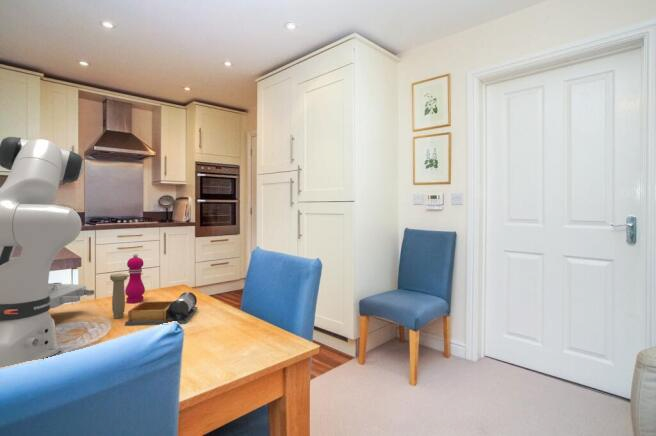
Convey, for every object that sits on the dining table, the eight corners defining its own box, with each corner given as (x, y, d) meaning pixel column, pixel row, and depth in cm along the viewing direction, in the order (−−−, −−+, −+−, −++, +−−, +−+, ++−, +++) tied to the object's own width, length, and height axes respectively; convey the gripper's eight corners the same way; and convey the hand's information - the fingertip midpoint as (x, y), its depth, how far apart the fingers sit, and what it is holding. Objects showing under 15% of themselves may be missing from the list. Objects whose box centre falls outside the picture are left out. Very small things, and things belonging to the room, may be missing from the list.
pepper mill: (138, 303, 142) (139, 254, 141) (121, 303, 142) (121, 254, 142) (148, 299, 149) (148, 252, 149) (131, 299, 149) (132, 252, 149)
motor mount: (186, 323, 117) (186, 302, 117) (124, 325, 114) (124, 303, 114) (198, 309, 135) (198, 290, 135) (144, 310, 132) (145, 291, 132)
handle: (115, 320, 119) (116, 277, 119) (106, 317, 123) (107, 274, 123) (130, 317, 123) (130, 275, 123) (121, 314, 127) (121, 273, 127)
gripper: (20, 294, 109) (69, 293, 111) (60, 281, 129) (100, 281, 131) (20, 314, 109) (69, 312, 111) (59, 298, 129) (100, 297, 131)
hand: (86, 295), depth 121 cm, fingers open, 8 cm apart
